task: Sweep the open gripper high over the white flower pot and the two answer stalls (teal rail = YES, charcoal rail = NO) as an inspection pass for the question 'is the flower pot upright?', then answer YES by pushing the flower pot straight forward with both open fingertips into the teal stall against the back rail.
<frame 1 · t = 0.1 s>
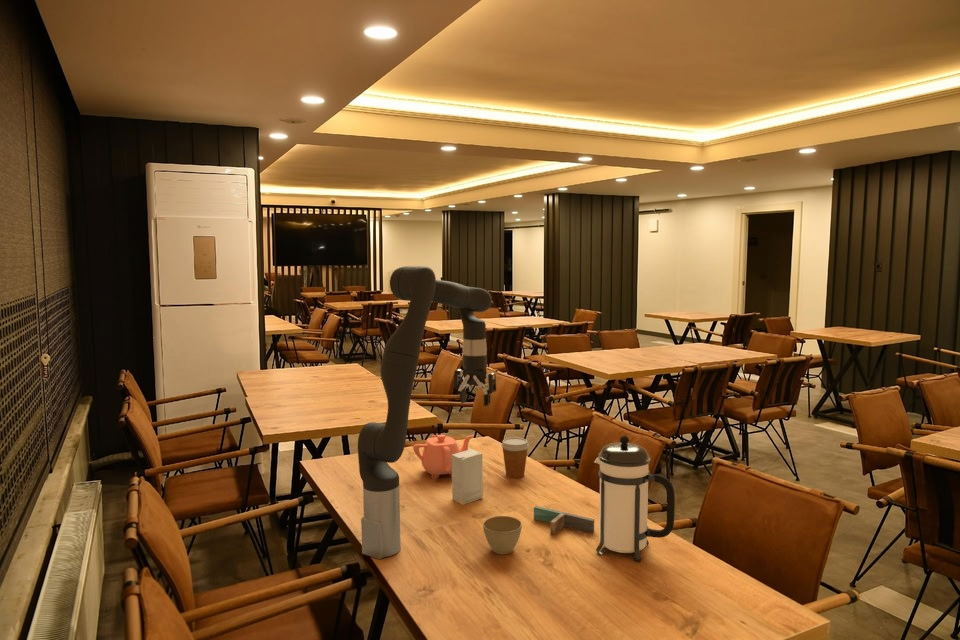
hand: (475, 404, 200), 29 cm above the table, fingers open, 8 cm apart
answer stalls: (557, 530, 176), on the table
teapot: (444, 472, 224), on the table
flower pot: (502, 551, 164), on the table
skincare box: (467, 500, 198), on the table
coffee press: (628, 550, 164), on the table
disposable coffee cup: (515, 475, 220), on the table
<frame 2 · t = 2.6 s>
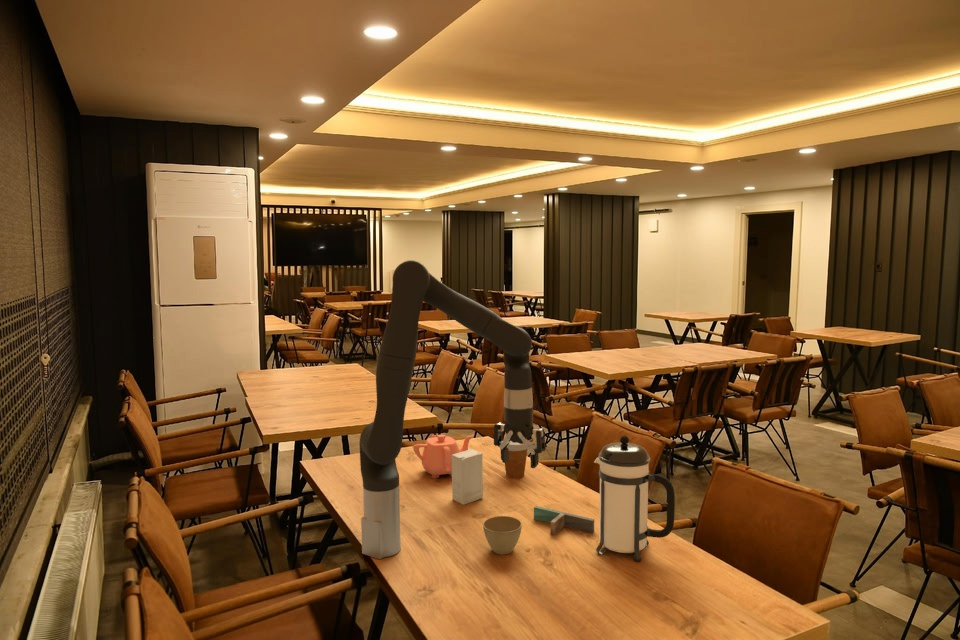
hand: (519, 464, 168), 21 cm above the table, fingers open, 8 cm apart
nothing on the table moved.
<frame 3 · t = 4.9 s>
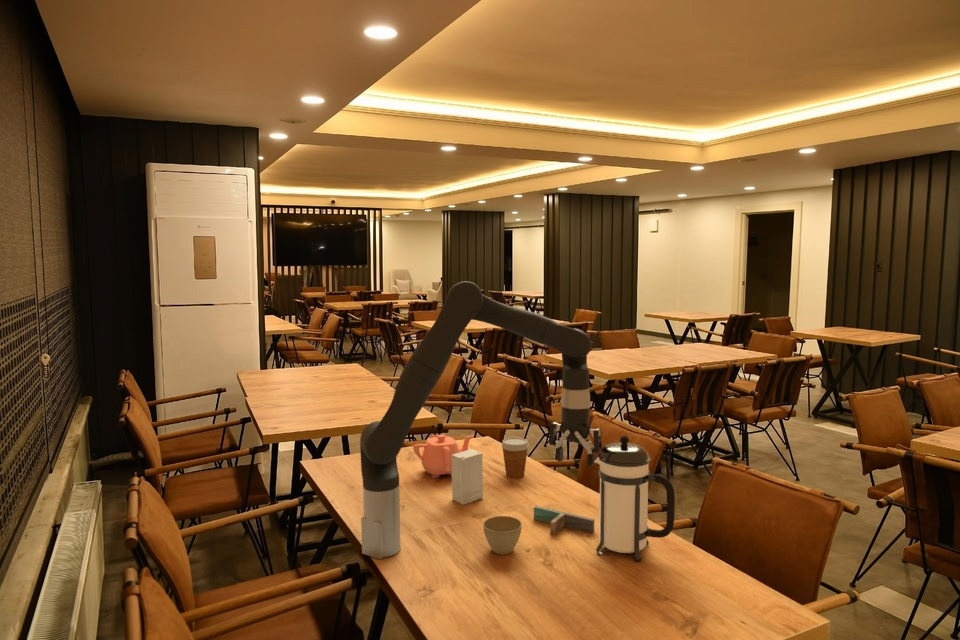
hand: (574, 463, 170), 20 cm above the table, fingers open, 8 cm apart
nothing on the table moved.
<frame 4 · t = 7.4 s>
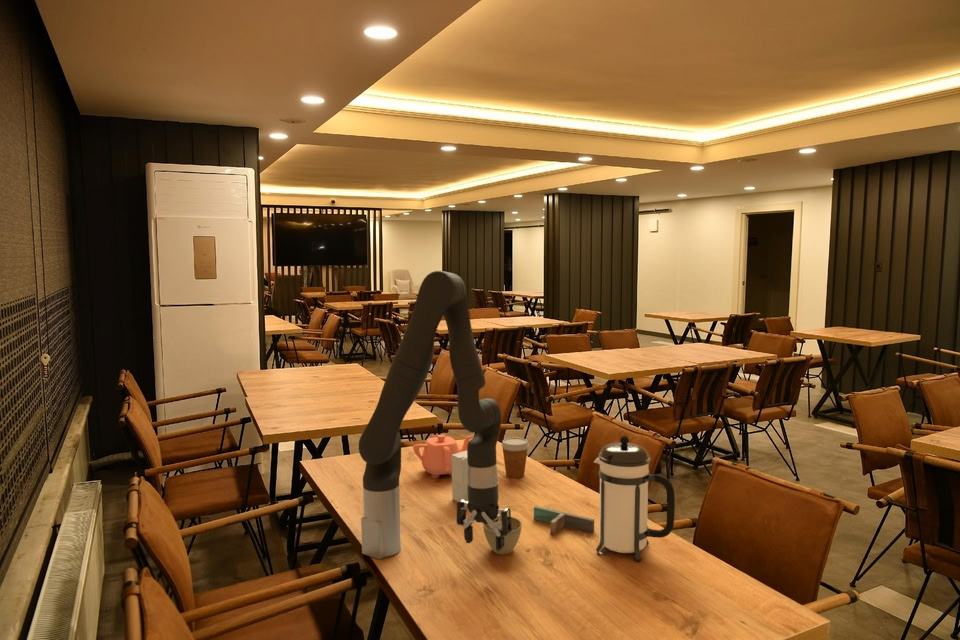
hand: (484, 545, 156), 5 cm above the table, fingers open, 8 cm apart
nothing on the table moved.
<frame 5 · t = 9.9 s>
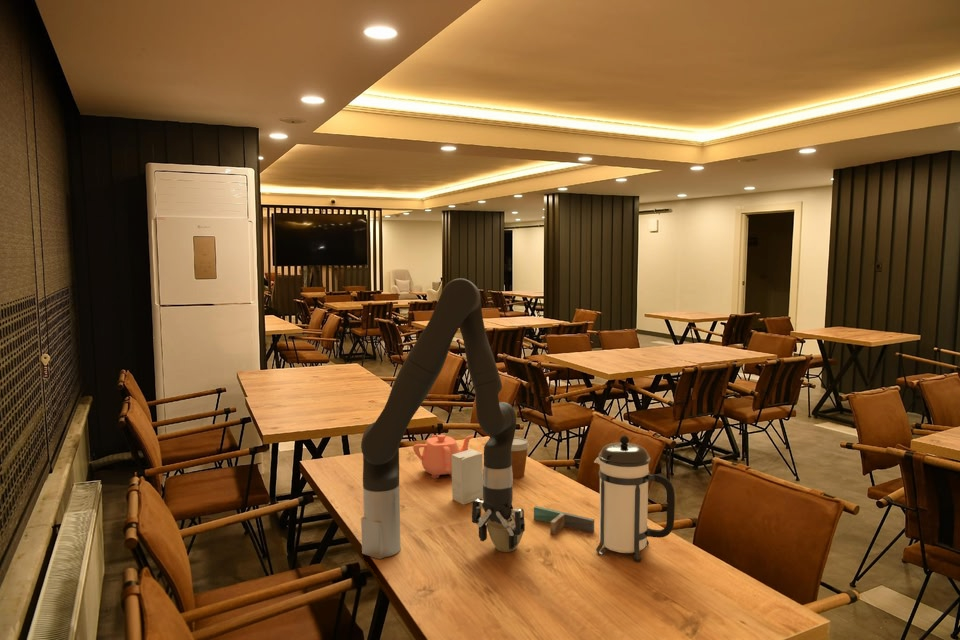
hand: (497, 544, 162), 3 cm above the table
flower pot: (505, 548, 165), on the table, touching gripper
everything else where it was.
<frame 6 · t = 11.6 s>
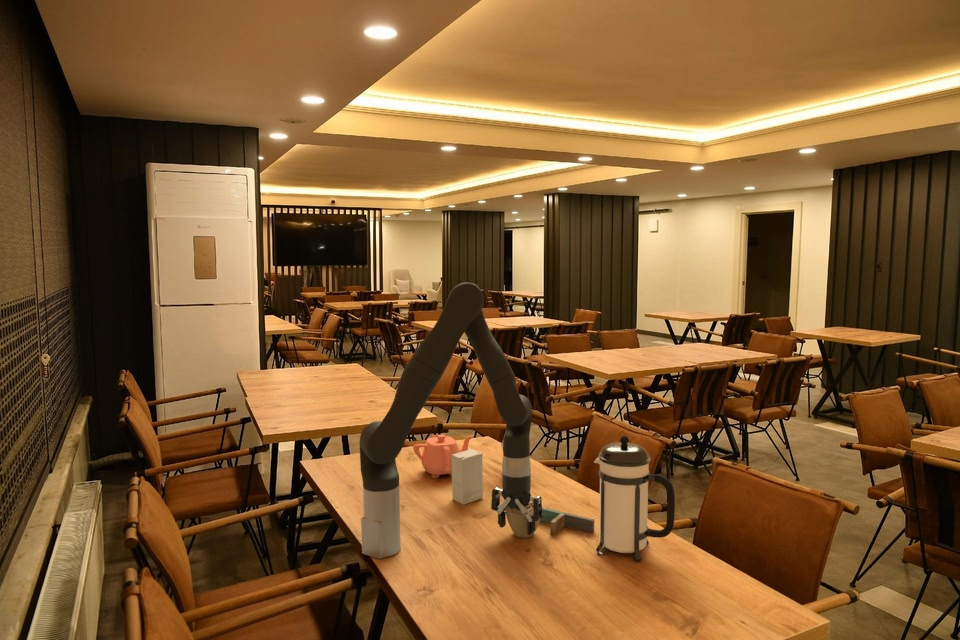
hand: (516, 530, 170), 3 cm above the table
flower pot: (523, 534, 173), on the table, touching gripper
everything else where it was.
when the fingers open (3 cm above the table, at t = 13.5 s): flower pot stays where it is, on the table.
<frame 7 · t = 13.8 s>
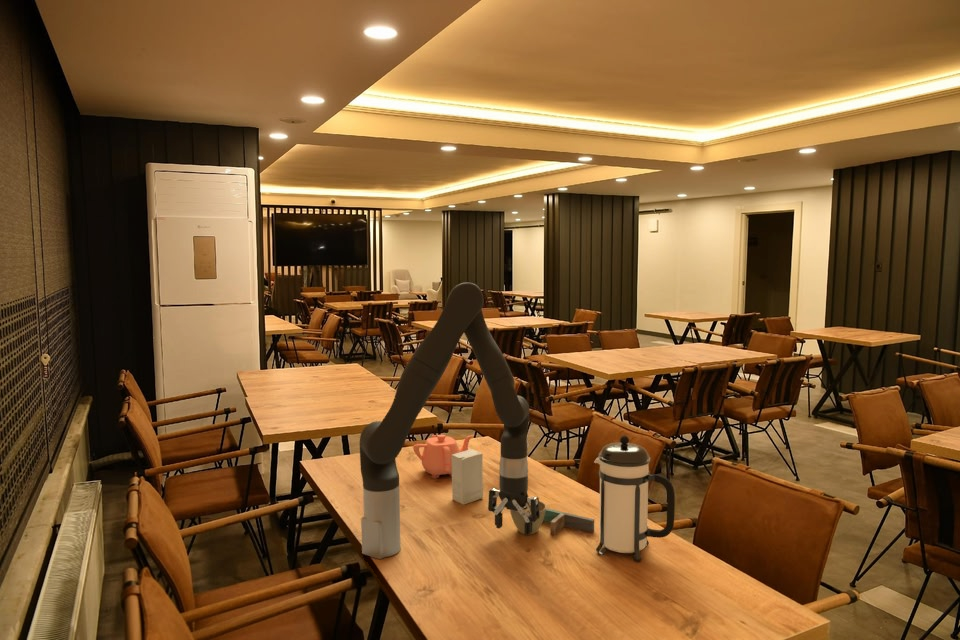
hand: (513, 531, 170), 2 cm above the table, fingers open, 8 cm apart
flower pot: (527, 531, 176), on the table
everything else where it was.
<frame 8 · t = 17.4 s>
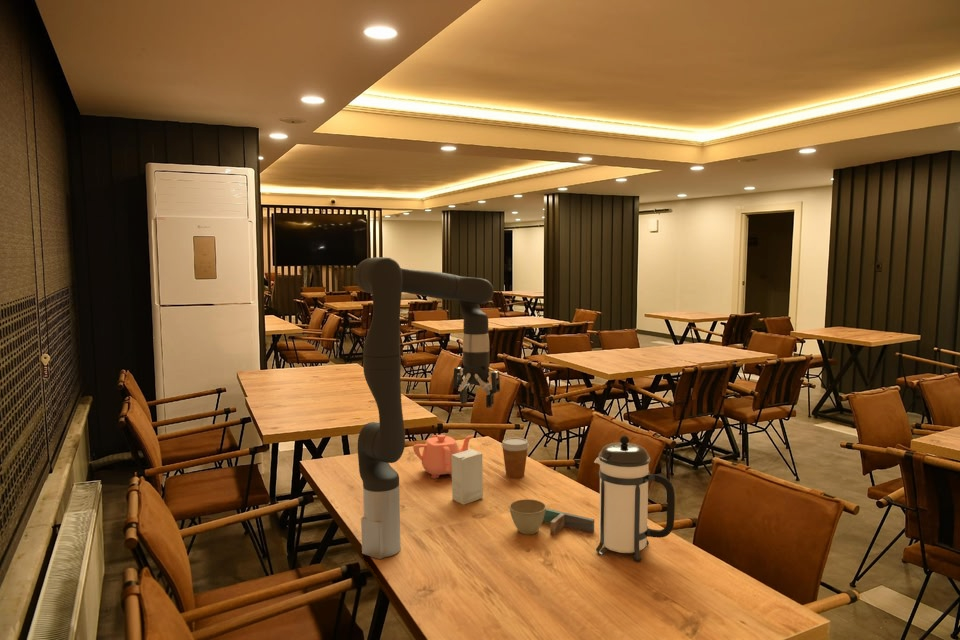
hand: (476, 405, 181), 33 cm above the table, fingers open, 8 cm apart
nothing on the table moved.
at the end: flower pot inside the target area (2.4 cm from its centre), on the table; flower pot tilted 0° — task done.
